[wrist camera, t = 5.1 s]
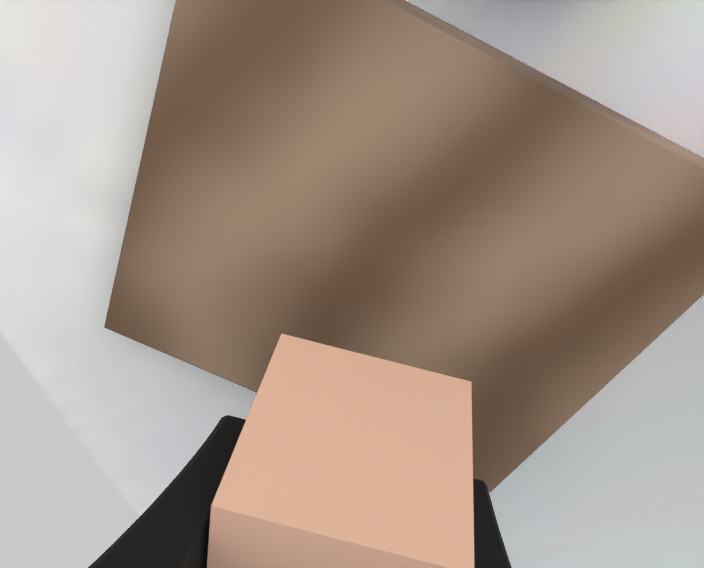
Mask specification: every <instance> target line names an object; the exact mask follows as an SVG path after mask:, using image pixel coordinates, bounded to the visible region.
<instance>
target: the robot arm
mask: <svg viewBox="0 0 704 568" xmlns="http://www.w3.org/2000/svg"><path fill="white" fill-rule="evenodd" d="M245 421H246V420H245V419H241V418H237V417H233V416H229V415H227V416H225V417H222V418H221V420H220V421H219V423H218V424H217V426H216V427H215V429H214V430H213V432H212V433H211V434H210V436H209V437H208V438H207V440H206V441H205V442H204V444H203V445H202V446H201V448H200V449H199V450H198V451H197V453H196V454H195V455H194V456H193V458H192V459H191V460H190V461H189V462H188V464H187V465H186V466H185V467H184V468H183V470H182V471H181V472H180V473H179V474H178V476H177V477H176V478H175V479H174V480H173V481H172V482H171V483H170V485H169V486H168V487H167V488H166V489H165V490H164V491H163V492H162V494H161V495H160V496H159V497H158V498H157V499H156V500H155V501H154V502H153V504H152V505H151V506H150V507H149V508H148V509H147V510H146V511H145V512H144V513H143V514H142V515H141V516H140V517H139V518H138V519H137V520H136V521H135V523H133V524H132V525H131V526H130V528H128V529H127V530H126V531H125V532H124V534H122V535H121V536H120V538H119V539H118V540H117V541H116V542H115V543H114V544H113V545H112V546H111V547H109V548H108V549H107V550H106V551H105V552H104V553H103V554H102V555H101V556H100V557H99V558H98V559H97V560H96V561H95V562H94V563H93V564H92V565H90V566H89V567H88V568H207V557H208V543H209V529H210V514H211V505H212V502H213V500H214V497H215V495H216V493H217V490H218V488H219V485H220V483H221V480H222V478H223V475H224V473H225V470H226V468H227V466H228V463H229V461H230V458H231V456H232V453H233V451H234V448H235V446H236V444H237V441H238V439H239V436H240V434H241V431H242V429H243V426H244V424H245ZM473 506H474V568H511V565H510V562H509V559H508V556H507V553H506V550H505V546H504V543H503V540H502V537H501V534H500V531H499V527H498V524H497V521H496V517H495V514H494V510H493V506H492V503H491V499H490V495H489V492H488V488H487V485H486V484H485V482H484V481H481V480H478V479H474V478H473Z"/></svg>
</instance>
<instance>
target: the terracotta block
mask: <svg viewBox="0 0 704 568" xmlns="http://www.w3.org/2000/svg"><path fill="white" fill-rule="evenodd" d="M207 568H474V506H473V445H472V384H471V381H467V380H463V379H459V378H455V377H451V376H447V375H443V374H439V373H435V372H431V371H428V370H424V369H420V368H416V367H412V366H408V365H404V364H400V363H396V362H392V361H388V360H384V359H380V358H376V357H372V356H368V355H364V354H360V353H356V352H352V351H349V350H345V349H341V348H337V347H333V346H329V345H325V344H321V343H317V342H313V341H309V340H305V339H301V338H297V337H293V336H289V335H285V334H281V336H280V338H279V341H278V343H277V345H276V348H275V350H274V353H273V355H272V358H271V360H270V363H269V365H268V368H267V370H266V372H265V375H264V377H263V380H262V382H261V385H260V387H259V390H258V392H257V394H256V397H255V399H254V402H253V404H252V407H251V409H250V412H249V414H248V417H247V419H246V421H245V424H244V426H243V429H242V431H241V434H240V436H239V439H238V441H237V444H236V446H235V448H234V451H233V453H232V456H231V458H230V461H229V463H228V466H227V468H226V470H225V473H224V475H223V478H222V480H221V483H220V485H219V488H218V490H217V493H216V495H215V497H214V500H213V502H212V505H211V514H210V529H209V543H208V557H207Z"/></svg>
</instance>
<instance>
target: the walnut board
mask: <svg viewBox="0 0 704 568" xmlns="http://www.w3.org/2000/svg"><path fill="white" fill-rule="evenodd" d="M703 294H704V158H702V157H700V156H698V155H696V154H695V153H693V152H691V151H689V150H687V149H685V148H683V147H681V146H679V145H677V144H676V143H674V142H672V141H670V140H668V139H666V138H664V137H662V136H660V135H659V134H657V133H655V132H653V131H651V130H649V129H647V128H645V127H643V126H641V125H640V124H638V123H636V122H634V121H632V120H630V119H628V118H626V117H624V116H622V115H621V114H619V113H617V112H615V111H613V110H611V109H609V108H607V107H605V106H604V105H602V104H600V103H598V102H596V101H594V100H592V99H590V98H588V97H586V96H585V95H583V94H581V93H579V92H577V91H575V90H573V89H571V88H569V87H568V86H566V85H564V84H562V83H560V82H558V81H556V80H554V79H552V78H550V77H549V76H547V75H545V74H543V73H541V72H539V71H537V70H535V69H533V68H532V67H530V66H528V65H526V64H524V63H522V62H520V61H518V60H516V59H514V58H513V57H511V56H509V55H507V54H505V53H503V52H501V51H499V50H497V49H496V48H494V47H492V46H490V45H488V44H486V43H484V42H482V41H480V40H478V39H477V38H475V37H473V36H471V35H469V34H467V33H465V32H463V31H461V30H459V29H458V28H456V27H454V26H452V25H450V24H448V23H446V22H444V21H442V20H441V19H439V18H437V17H435V16H433V15H431V14H429V13H427V12H425V11H423V10H422V9H420V8H418V7H416V6H414V5H412V4H410V3H408V2H406V1H405V0H176V3H175V7H174V12H173V16H172V21H171V25H170V30H169V35H168V39H167V44H166V48H165V53H164V57H163V62H162V66H161V71H160V76H159V80H158V85H157V89H156V94H155V98H154V103H153V107H152V112H151V117H150V121H149V126H148V130H147V135H146V139H145V144H144V149H143V153H142V158H141V162H140V167H139V171H138V176H137V180H136V185H135V190H134V194H133V199H132V203H131V208H130V212H129V217H128V221H127V226H126V231H125V235H124V240H123V244H122V249H121V253H120V258H119V263H118V267H117V272H116V276H115V281H114V285H113V290H112V294H111V299H110V304H109V308H108V313H107V317H106V322H105V326H104V327H105V328H107V329H109V330H112V331H114V332H116V333H119V334H121V335H123V336H126V337H128V338H130V339H133V340H135V341H137V342H140V343H142V344H145V345H147V346H149V347H152V348H154V349H156V350H159V351H161V352H163V353H166V354H168V355H170V356H173V357H175V358H177V359H180V360H182V361H184V362H187V363H189V364H191V365H194V366H196V367H198V368H201V369H203V370H206V371H208V372H210V373H213V374H215V375H217V376H220V377H222V378H224V379H227V380H229V381H231V382H234V383H236V384H238V385H241V386H243V387H245V388H248V389H250V390H252V391H255V392H258V390H259V387H260V385H261V382H262V380H263V377H264V375H265V372H266V370H267V368H268V365H269V363H270V360H271V358H272V355H273V353H274V350H275V348H276V345H277V343H278V341H279V338H280V336H281V334H285V335H289V336H293V337H297V338H301V339H305V340H309V341H313V342H317V343H321V344H325V345H329V346H333V347H337V348H341V349H345V350H349V351H352V352H356V353H360V354H364V355H368V356H372V357H376V358H380V359H384V360H388V361H392V362H396V363H400V364H404V365H408V366H412V367H416V368H420V369H424V370H428V371H431V372H435V373H439V374H443V375H447V376H451V377H455V378H459V379H463V380H467V381H471V384H472V445H473V478H474V479H478V480H481V481H484V482H485V484H486V485H487V488H488V491H489V492H491V491H492V490H493V489H494V488H495V487H496V486H497V485H498V484H499V483H500V482H502V481H503V480H504V479H505V478H506V477H507V476H508V475H509V474H510V473H511V472H512V471H513V470H515V469H516V468H517V467H518V466H519V465H520V464H521V463H522V462H523V461H524V460H525V459H526V458H527V457H529V456H530V455H531V454H532V453H533V452H534V451H535V450H536V449H537V448H538V447H539V446H540V445H541V444H543V443H544V442H545V441H546V440H547V439H548V438H549V437H550V436H551V435H552V434H553V433H554V432H556V431H557V430H558V429H559V428H560V427H561V426H562V425H563V424H564V423H565V422H566V421H567V420H568V419H570V418H571V417H572V416H573V415H574V414H575V413H576V412H577V411H578V410H579V409H580V408H581V407H582V406H584V405H585V404H586V403H587V402H588V401H589V400H590V399H591V398H592V397H593V396H594V395H595V394H597V393H598V392H599V391H600V390H601V389H602V388H603V387H604V386H605V385H606V384H607V383H608V382H609V381H611V380H612V379H613V378H614V377H615V376H616V375H617V374H618V373H619V372H620V371H621V370H622V369H623V368H625V367H626V366H627V365H628V364H629V363H630V362H631V361H632V360H633V359H634V358H635V357H636V356H638V355H639V354H640V353H641V352H642V351H643V350H644V349H645V348H646V347H647V346H648V345H649V344H650V343H652V342H653V341H654V340H655V339H656V338H657V337H658V336H659V335H660V334H661V333H662V332H663V331H664V330H666V329H667V328H668V327H669V326H670V325H671V324H672V323H673V322H674V321H675V320H676V319H677V318H679V317H680V316H681V315H682V314H683V313H684V312H685V311H686V310H687V309H688V308H689V307H690V306H691V305H693V304H694V303H695V302H696V301H697V300H698V299H699V298H700V297H701V296H702V295H703Z"/></svg>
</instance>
